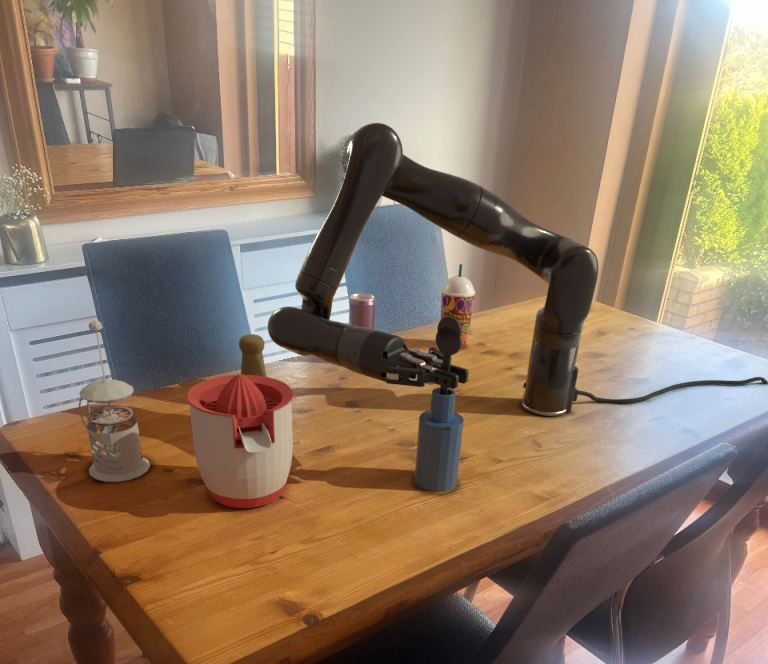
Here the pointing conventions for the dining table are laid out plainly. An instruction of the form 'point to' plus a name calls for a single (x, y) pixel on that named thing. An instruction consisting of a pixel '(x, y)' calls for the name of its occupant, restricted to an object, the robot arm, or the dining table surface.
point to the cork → (252, 355)
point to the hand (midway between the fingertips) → (461, 379)
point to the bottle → (439, 444)
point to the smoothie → (458, 302)
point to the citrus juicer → (242, 437)
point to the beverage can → (362, 310)
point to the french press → (112, 429)
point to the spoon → (448, 343)
